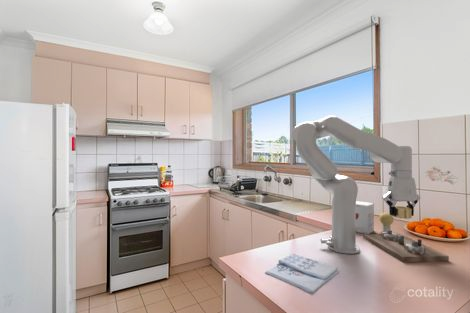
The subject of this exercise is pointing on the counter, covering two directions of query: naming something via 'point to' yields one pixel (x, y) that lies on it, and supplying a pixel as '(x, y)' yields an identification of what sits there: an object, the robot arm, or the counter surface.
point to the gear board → (405, 247)
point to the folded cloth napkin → (313, 270)
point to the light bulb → (386, 221)
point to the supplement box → (364, 217)
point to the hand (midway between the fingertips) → (401, 214)
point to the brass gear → (403, 212)
